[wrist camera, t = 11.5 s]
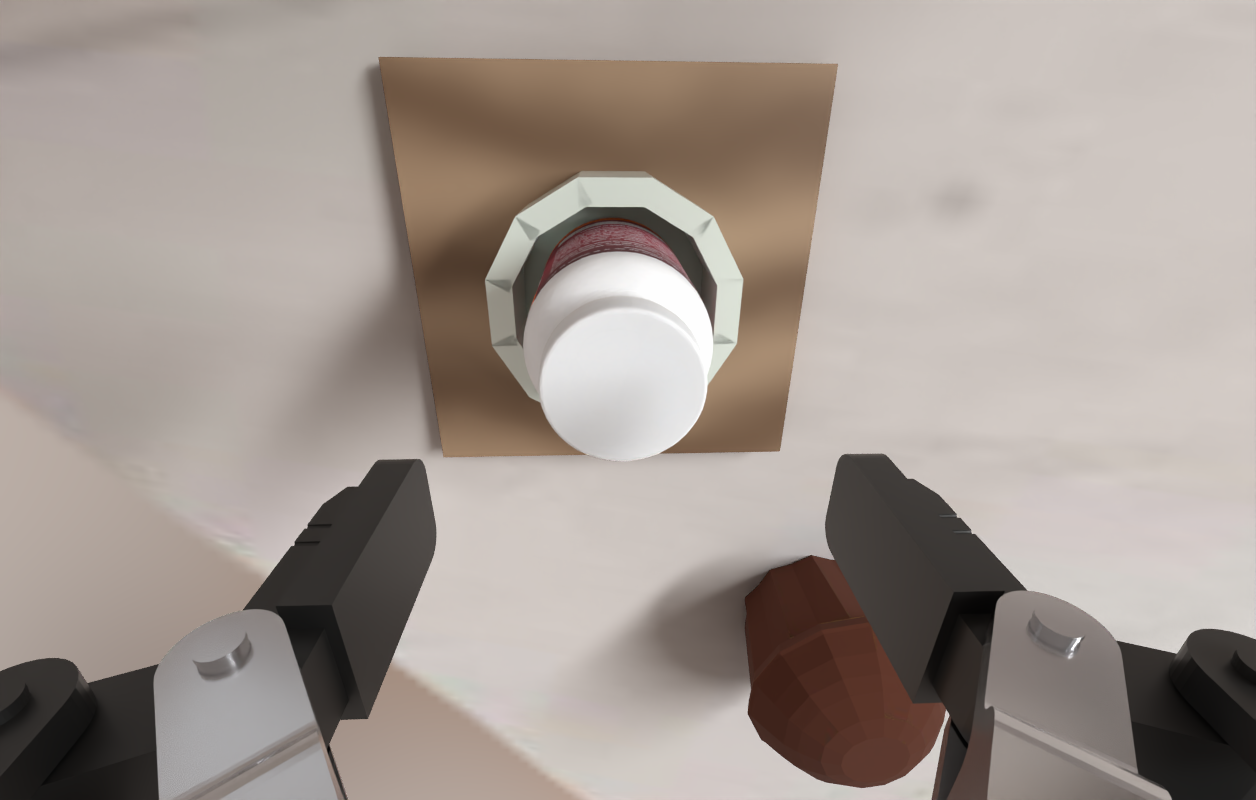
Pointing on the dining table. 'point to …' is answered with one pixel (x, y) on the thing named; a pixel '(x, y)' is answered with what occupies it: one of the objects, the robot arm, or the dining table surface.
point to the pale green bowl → (597, 198)
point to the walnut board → (605, 141)
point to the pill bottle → (618, 342)
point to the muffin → (829, 681)
